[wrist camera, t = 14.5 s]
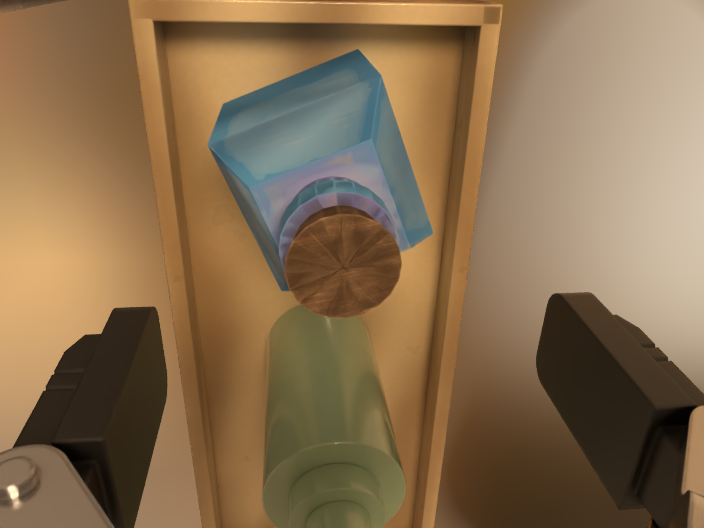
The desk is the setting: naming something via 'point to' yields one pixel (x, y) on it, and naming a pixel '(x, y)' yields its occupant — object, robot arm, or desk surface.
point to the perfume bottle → (324, 183)
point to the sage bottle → (327, 427)
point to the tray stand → (243, 250)
